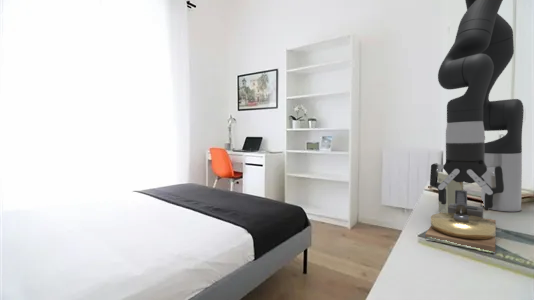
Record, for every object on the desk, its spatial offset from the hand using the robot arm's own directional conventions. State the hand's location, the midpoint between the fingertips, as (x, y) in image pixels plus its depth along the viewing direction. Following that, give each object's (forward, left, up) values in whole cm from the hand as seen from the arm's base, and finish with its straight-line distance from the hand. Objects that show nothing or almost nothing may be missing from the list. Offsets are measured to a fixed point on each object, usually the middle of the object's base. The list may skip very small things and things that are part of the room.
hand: (464, 206), depth 64 cm
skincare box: (-12, -8, -6) cm, 16 cm away
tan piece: (+2, 0, -6) cm, 6 cm away
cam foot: (+5, +1, -4) cm, 7 cm away
